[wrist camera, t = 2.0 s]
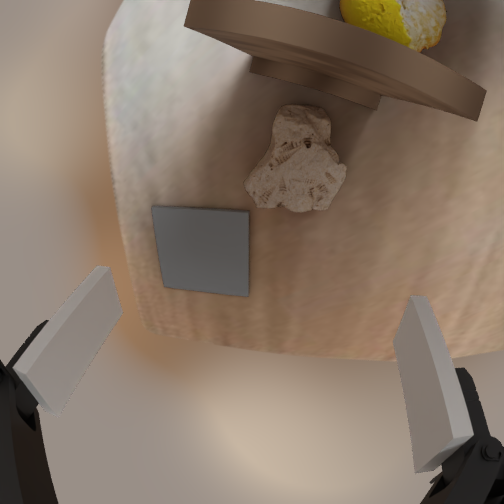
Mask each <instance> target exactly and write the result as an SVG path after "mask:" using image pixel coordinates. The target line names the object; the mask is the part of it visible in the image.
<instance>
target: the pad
mask: <svg viewBox="0 0 504 504" xmlns="http://www.w3.org/2000/svg"><path fill="white" fill-rule="evenodd" d="M151 209H152V216H153V223H154V230H155V237H156V243H157V250H158V256H159V262H160V267H161V273H162V278H163V284H164V287H169V288H177V289H185V290H193V291H201V292H210V293H218V294H227V295H236V296H246V297H248V296H249V211H245V210H230V209H213V208H194V207H173V206H152V207H151Z"/></svg>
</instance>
